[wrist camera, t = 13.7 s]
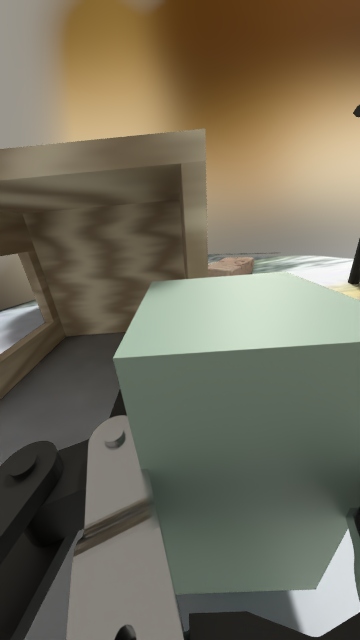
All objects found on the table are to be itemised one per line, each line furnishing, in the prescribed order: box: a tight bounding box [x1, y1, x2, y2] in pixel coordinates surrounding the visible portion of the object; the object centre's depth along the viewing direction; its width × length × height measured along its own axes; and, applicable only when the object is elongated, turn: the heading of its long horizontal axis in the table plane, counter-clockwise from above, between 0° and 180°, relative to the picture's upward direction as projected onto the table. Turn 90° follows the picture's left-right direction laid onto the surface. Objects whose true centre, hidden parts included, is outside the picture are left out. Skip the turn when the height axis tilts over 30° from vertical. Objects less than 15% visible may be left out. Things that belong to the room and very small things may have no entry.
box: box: [0, 129, 208, 400], centre depth 20 cm, size 20×15×17 cm
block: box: [113, 272, 360, 594], centre depth 7 cm, size 5×5×10 cm
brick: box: [208, 257, 254, 278], centre depth 53 cm, size 16×8×5 cm, turn 143°
